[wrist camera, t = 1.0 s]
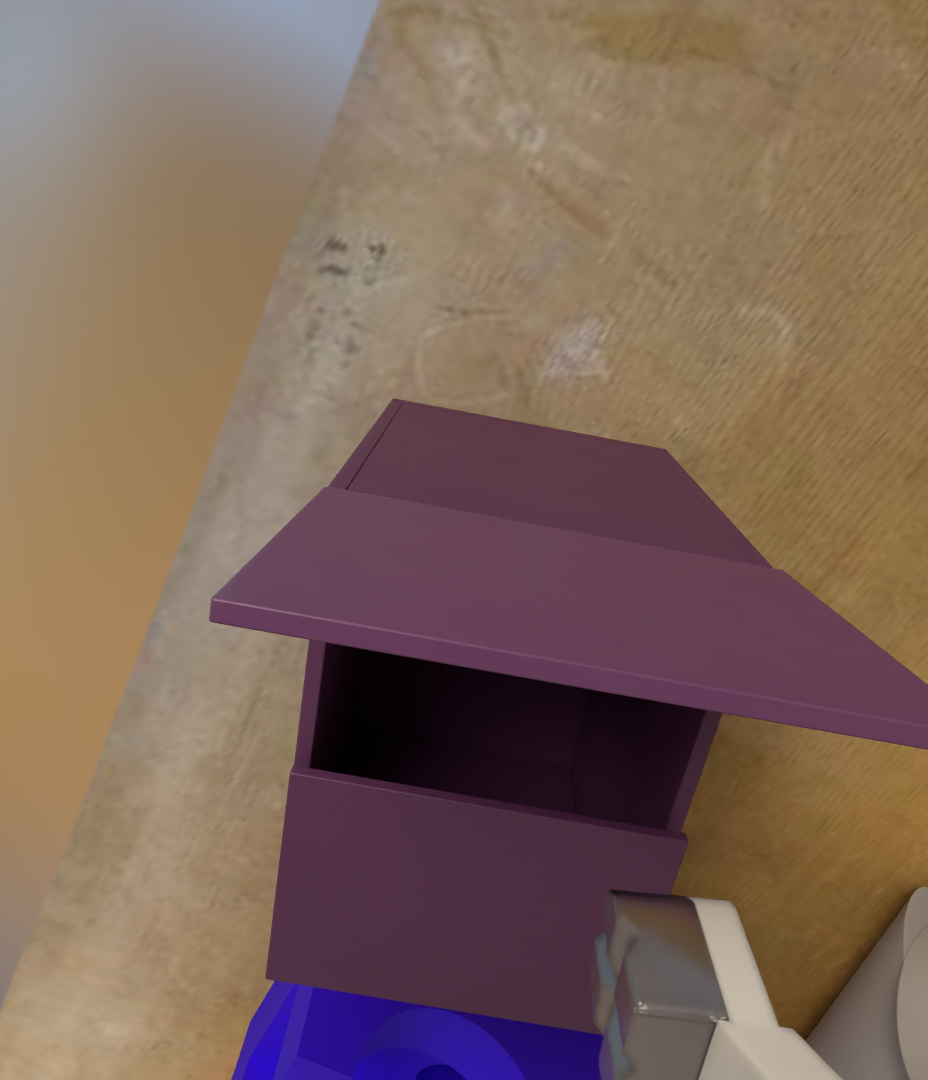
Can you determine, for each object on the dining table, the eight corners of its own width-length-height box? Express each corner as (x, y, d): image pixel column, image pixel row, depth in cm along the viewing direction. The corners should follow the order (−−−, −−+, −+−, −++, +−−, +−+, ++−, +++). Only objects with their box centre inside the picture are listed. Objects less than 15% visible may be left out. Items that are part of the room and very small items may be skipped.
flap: (322, 500, 19) (324, 485, 19) (779, 584, 20) (783, 570, 19) (207, 622, 11) (210, 597, 11) (987, 761, 11) (997, 738, 11)
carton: (393, 398, 32) (320, 495, 19) (666, 449, 33) (785, 579, 19) (344, 729, 38) (263, 981, 25) (576, 769, 39) (619, 1040, 25)
